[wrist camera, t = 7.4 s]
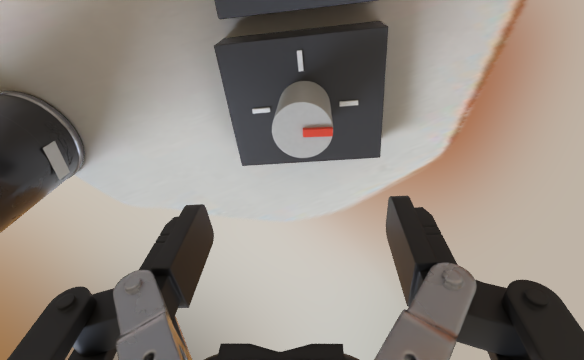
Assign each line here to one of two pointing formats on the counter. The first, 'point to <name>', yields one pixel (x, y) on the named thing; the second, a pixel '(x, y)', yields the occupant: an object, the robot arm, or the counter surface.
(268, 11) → the power block
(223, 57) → the panel
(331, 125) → the timer knob
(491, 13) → the counter surface
